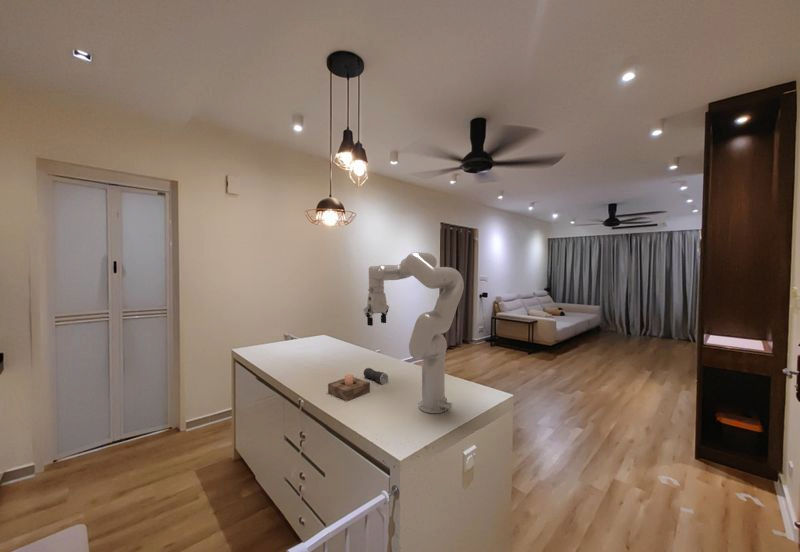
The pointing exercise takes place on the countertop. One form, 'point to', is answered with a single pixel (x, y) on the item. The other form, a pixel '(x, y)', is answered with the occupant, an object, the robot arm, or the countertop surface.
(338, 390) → the walnut block
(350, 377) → the pin
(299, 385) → the countertop surface
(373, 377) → the flashlight
